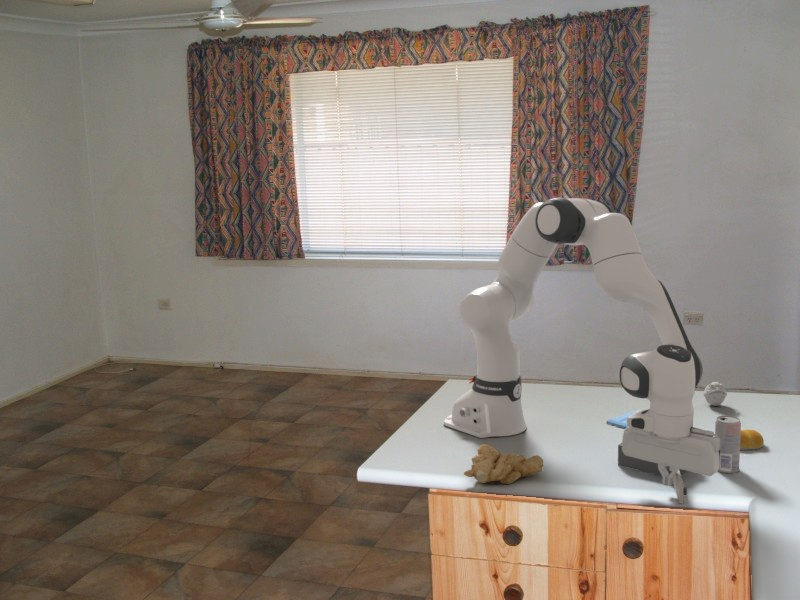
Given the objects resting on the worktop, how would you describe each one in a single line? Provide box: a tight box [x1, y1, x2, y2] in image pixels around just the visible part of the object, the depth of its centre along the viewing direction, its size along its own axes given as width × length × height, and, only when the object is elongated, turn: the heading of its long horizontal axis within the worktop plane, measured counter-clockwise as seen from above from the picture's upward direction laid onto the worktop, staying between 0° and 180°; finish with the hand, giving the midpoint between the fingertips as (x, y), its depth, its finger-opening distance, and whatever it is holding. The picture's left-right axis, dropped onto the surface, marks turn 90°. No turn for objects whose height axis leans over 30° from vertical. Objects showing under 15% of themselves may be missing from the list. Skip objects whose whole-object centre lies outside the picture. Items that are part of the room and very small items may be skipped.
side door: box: [671, 470, 688, 504], centre depth 181 cm, size 13×2×5 cm, turn 169°
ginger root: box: [463, 443, 544, 485], centre depth 192 cm, size 16×16×8 cm
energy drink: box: [714, 415, 742, 474], centre depth 191 cm, size 5×5×12 cm
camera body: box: [617, 442, 687, 477], centre depth 195 cm, size 15×9×6 cm, turn 50°
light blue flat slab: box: [606, 409, 639, 430], centre depth 225 cm, size 14×12×1 cm
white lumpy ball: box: [703, 381, 728, 407], centre depth 235 cm, size 6×7×7 cm
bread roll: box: [740, 429, 764, 451], centre depth 207 cm, size 8×9×4 cm
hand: (668, 483), depth 181 cm, fingers closed
